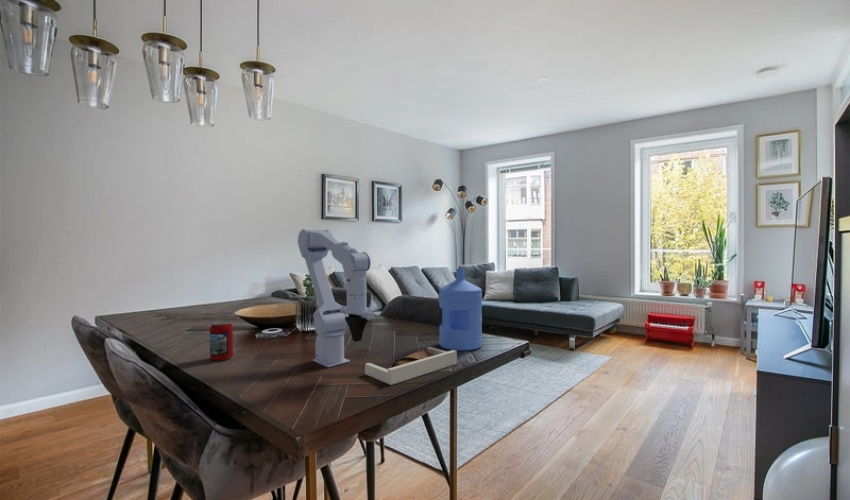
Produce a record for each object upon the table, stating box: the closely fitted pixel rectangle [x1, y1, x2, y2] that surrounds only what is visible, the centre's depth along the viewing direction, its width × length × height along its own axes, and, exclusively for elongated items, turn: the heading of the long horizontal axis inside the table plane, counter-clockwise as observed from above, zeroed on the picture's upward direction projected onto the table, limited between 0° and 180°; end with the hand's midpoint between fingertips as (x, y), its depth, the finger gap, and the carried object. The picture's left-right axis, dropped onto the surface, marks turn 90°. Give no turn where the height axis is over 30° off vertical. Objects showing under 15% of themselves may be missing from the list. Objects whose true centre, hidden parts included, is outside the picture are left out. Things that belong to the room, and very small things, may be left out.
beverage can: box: [209, 320, 234, 362], centre depth 131 cm, size 7×7×12 cm
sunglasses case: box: [391, 347, 434, 368], centre depth 123 cm, size 18×7×7 cm
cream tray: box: [364, 346, 458, 386], centre depth 120 cm, size 12×26×4 cm, turn 133°
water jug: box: [438, 268, 483, 352], centre depth 145 cm, size 16×16×28 cm
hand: (357, 340), depth 116 cm, fingers closed
